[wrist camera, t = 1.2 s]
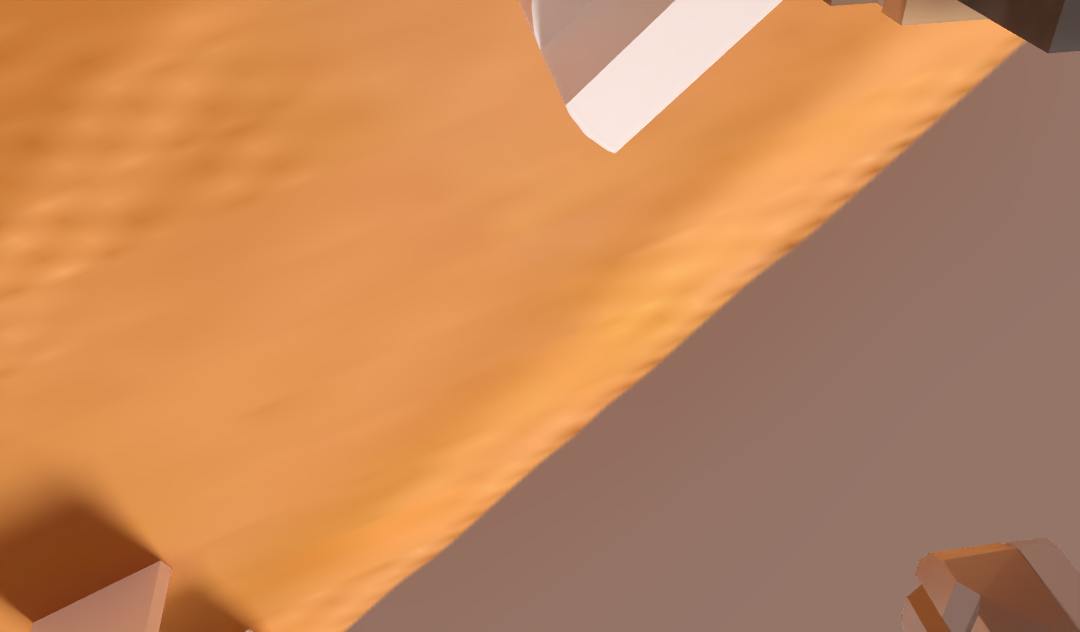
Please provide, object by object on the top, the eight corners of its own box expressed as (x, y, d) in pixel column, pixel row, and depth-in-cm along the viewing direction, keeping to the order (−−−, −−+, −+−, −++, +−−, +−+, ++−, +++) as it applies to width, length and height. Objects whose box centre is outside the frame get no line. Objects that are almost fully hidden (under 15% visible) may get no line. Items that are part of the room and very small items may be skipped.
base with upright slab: (614, -182, 40) (693, -131, 31) (730, -36, 45) (830, 48, 35) (473, -32, 43) (505, 58, 34) (596, 92, 48) (655, 201, 38)
